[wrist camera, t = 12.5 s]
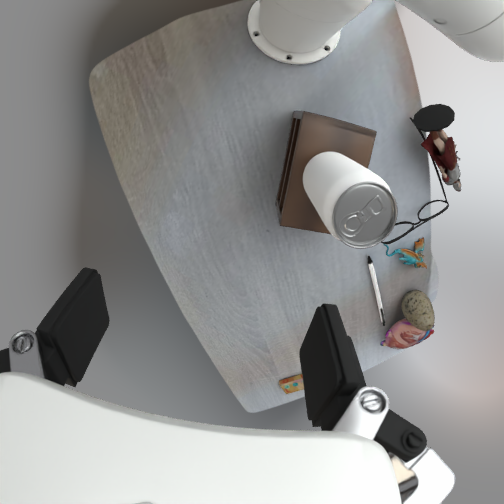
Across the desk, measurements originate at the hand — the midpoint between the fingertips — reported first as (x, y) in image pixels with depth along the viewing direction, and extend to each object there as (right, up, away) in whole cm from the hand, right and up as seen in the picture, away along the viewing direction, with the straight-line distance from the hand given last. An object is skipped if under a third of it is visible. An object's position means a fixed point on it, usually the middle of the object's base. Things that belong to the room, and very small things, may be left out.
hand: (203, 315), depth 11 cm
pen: (+26, -5, +37) cm, 46 cm away
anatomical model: (+29, -13, +39) cm, 51 cm away
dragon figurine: (+29, +3, +33) cm, 44 cm away
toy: (+14, -27, +48) cm, 57 cm away
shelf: (+11, +15, +26) cm, 32 cm away
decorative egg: (+34, -6, +38) cm, 51 cm away
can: (+11, +11, +19) cm, 25 cm away
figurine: (+26, +21, +16) cm, 37 cm away
